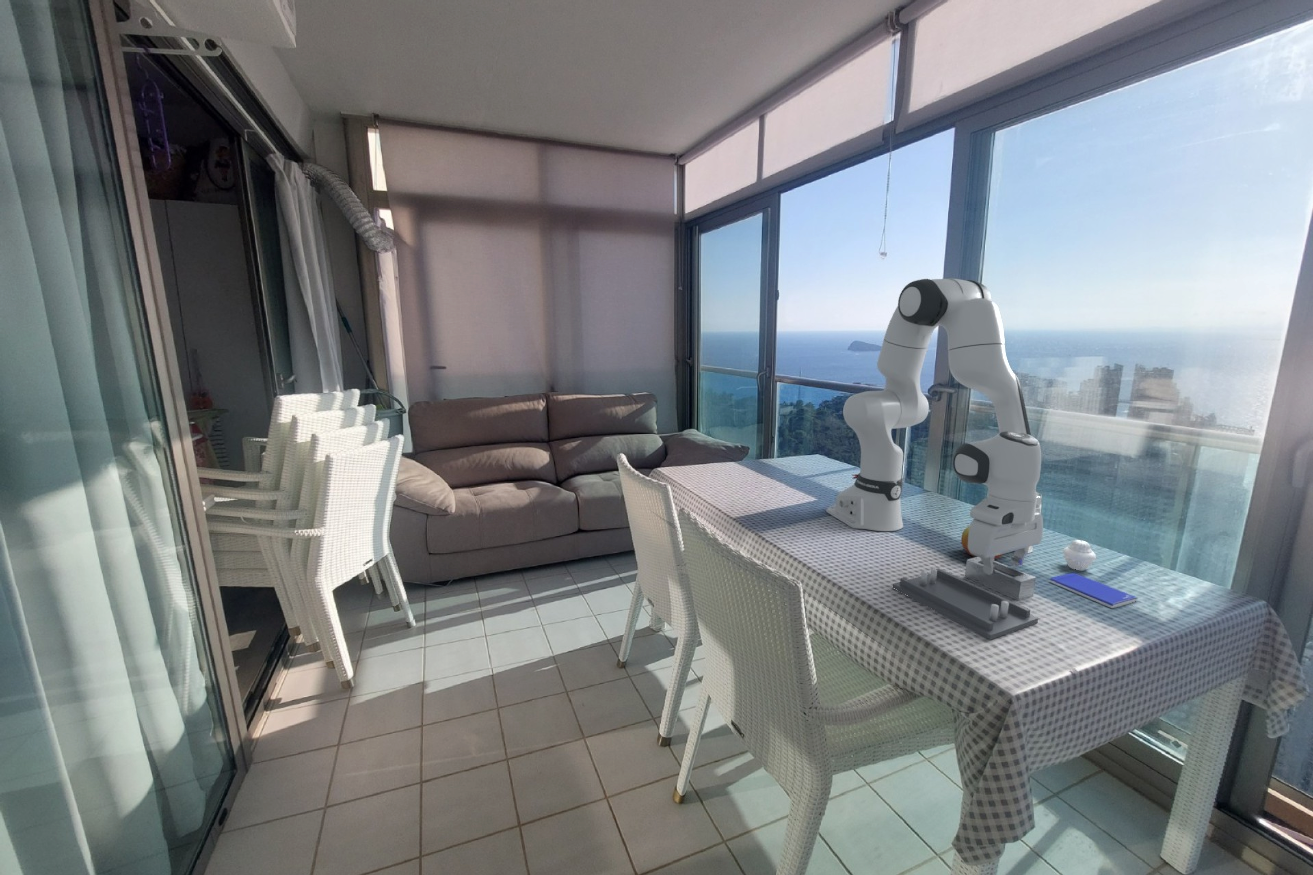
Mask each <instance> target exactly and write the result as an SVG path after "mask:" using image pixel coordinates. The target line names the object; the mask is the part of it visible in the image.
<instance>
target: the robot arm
mask: <svg viewBox="0 0 1313 875" xmlns="http://www.w3.org/2000/svg"><path fill="white" fill-rule="evenodd" d="M991 296H992V295H991V292H990V290H989V288H988V287H987V286H986V285H984V284H983V283H981V282H978V281H976V280H972V279H969V280H968V279H967V280H965V279H961V278H960V279H959V278H950V277H947V278H934V279H933V278H931V279H929V278H922V279H917V280H913V281H911V282H909V283H908V284H906V285H904V287H903V288H902V290H901V292H900V294H899V297H898V302H897V306H896V308H895V310H894V312H893V313H892V316H891V318H890V320H889V323H888V325H887V328H886V331H885V335H884V336H883V341H882V345H881V349H880V352H879V355H878V358H877V362H876V366H877V369H878V371H879V373H880V374H881V375H882V376H883V377H885V385H884V389H882V390H869V391H868V390H867V391H866V390H865V391H863V392H858V393H856V394H853V395H851V396H849V397H848V398H847V399H846V400H845V402H844V405H843V411H842V414H843V418H844V421H845V423H846V425H847V426H848V427H849V428H851V429H852V430H853V431H854V433H855V434H856V436H857V439H858V441H859V446H860V467H859V468H860V470H859V473H858V474H852V475H851V476H852V477H851V478H852V479H853V480H854V479H855V481H854V484H852V485H851V486H849V487H848V488H845V489H844V490H842V491H840V492H839V493H838V494H837V495H836V497H835V502H834V505H831V506H828V507H827V508H826V513H828V514H829V515H831V516H832V517H834V518H836V519H837V520H839V521H841V522H842V523H843V524H846V525H847V526H849V527H850V528H853V529H857V530H859V529H863V530H868V531H869V530H870V531H877V532H895V531H899V530H901V529H903V528H904V523H903V518H902V507H901V504H902V503H901V502H902V501H901V495H902V492H903V484H904V483H903V482H904V480H903V477H902V476H903V475H902V473H903V464H904V452H903V449H902V448H901V447H900V446H899V445H897V444H896V443H894V440H893V437H892V430H893V429H905V428H910V427H913V426H915V425H916V426H917V425H918V424H920V423H921V424H922V422H923V421H925V419H927V417H928V414H929V412H930V411H929V410H930V406H929V401H928V399H927V396H926V395H925V394H923V392H922V388H921V374H922V370H923V365H924V362H925V358H926V355H927V352H928V349H929V345H930V342H931V339H932V335H933V333H934V331H935V329H936V328H938V327H942V328H944V329H945V331H946V334H947V353H948V354H947V355H948V356H947V357H948V358H947V360H948V367H949V371H950V374H951V376H952V377H953V378H954V379H955V381H957V383H959V384H961V385H962V386H964V387H965V388H968V389H971V390H973V391H976V392H977V393H980V394H981V395H983V396H984V397H986V398H988V400H990V402H991V403H992V405H993V408H994V412H995V417H996V422H997V428H998V432H999V433H997V434H996V435H995V436H993V437H990V438H986V439H983V440H977V441H970V442H965V443H962V444H960V445H959V446H958V447H957V449H956V450H955V451H954V453H953V457H952V468H953V471H954V473H955V474H956V476H957V477H958V478H959V479H960V480H961V481H962V482H964V483H968V484H973V485H979V484H980V485H981V484H982V485H984V486H986V487H987V492H986V493H987V495H986V497H985V498H983V499H982V501H980V502H978V504H976V505H974V506H973V507H971V509H970V512H969V516H970V518H972V520H971V522H970V524H969V526H970V528H969V535H968V550H969V552H970V553H971V554H972V555H975V556H977V557H980V558H981V560H982V562H983V564H984V566H983V572H984V573H987V574H993V573H995V570H996V566H994V565H993V561H992V560H994V561H995V559H994V557H995V556H997V555H1000V554H1002V555H1003V554H1007V553H1011V552H1014V554H1013V555H1012V556H1010V557H1011V558H1010V563H1011V565H1012V566H1015V567H1021V566H1023V565H1024V560H1025V557H1026V555H1027V554H1028V553H1027V552H1028V550H1029V547H1030V546H1036V545H1039V544H1040V543H1041V541H1042V540H1043V533H1044V518H1043V515H1042V513H1040V508H1039V506H1038V505H1037V504H1036V502H1037V493H1036V492H1037V485H1038V483H1039V481H1040V477H1041V469H1042V450H1041V448H1042V447H1041V444H1040V441H1039V440H1038V439H1037V438H1035V437H1034V436H1032V434H1031V429H1030V423H1029V419H1028V413H1027V408H1026V404H1025V399H1024V394H1023V389H1022V386H1021V382H1020V379H1019V377H1018V376H1017V374H1016V373H1014V371H1013V370H1012V369H1011V366H1010V364H1009V361H1008V358H1007V354H1006V353H1007V352H1006V347H1005V345H1006V344H1005V335H1004V334H1005V333H1004V326H1003V322H1002V318H1001V317H1002V316H1001V314H1000V313H1001V312H1000V311H999V306H998V305H997V304H996V303H995V302H994V301H993V300H992V297H991ZM1015 550H1016V551H1015Z"/></svg>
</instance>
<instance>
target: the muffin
mask: <svg viewBox="0 0 1313 875" xmlns="http://www.w3.org/2000/svg"><path fill="white" fill-rule="evenodd" d="M1062 553H1063V557H1064V559H1065V560H1064V561H1066V564H1067V566H1068V567H1069V568H1070V569H1072V570H1075V569H1076V570H1075V571H1081V572H1083V571H1086V570H1087V569H1088V568H1089V567H1090V566H1091V565H1092V564H1093V563H1094V561H1095V560H1096V559H1097V554H1096V553H1095V552H1094V551H1093V550H1092V549H1091V545H1090V544H1089V542H1087V541H1085V540H1083V539H1074V540H1073V541H1071V544H1069V545H1068V546H1065V547H1064V548H1063V549H1062Z"/></svg>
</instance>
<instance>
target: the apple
mask: <svg viewBox="0 0 1313 875" xmlns="http://www.w3.org/2000/svg"><path fill="white" fill-rule="evenodd" d="M969 528H970V525H969V526H967V527H965V529H964V530H963V531H962V534H961V540H960V543H961V546H962V548H963V549H964V550H965V552H966V553H967V554H968V555H970V556H972V558H975V557H977V556H975V555H972V554H971V553H970V552H969V550H968V535H969ZM1002 555H1003V554H1000V555H997V556H995V557H994V560H996V559H999V558H1000V557H1002Z"/></svg>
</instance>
